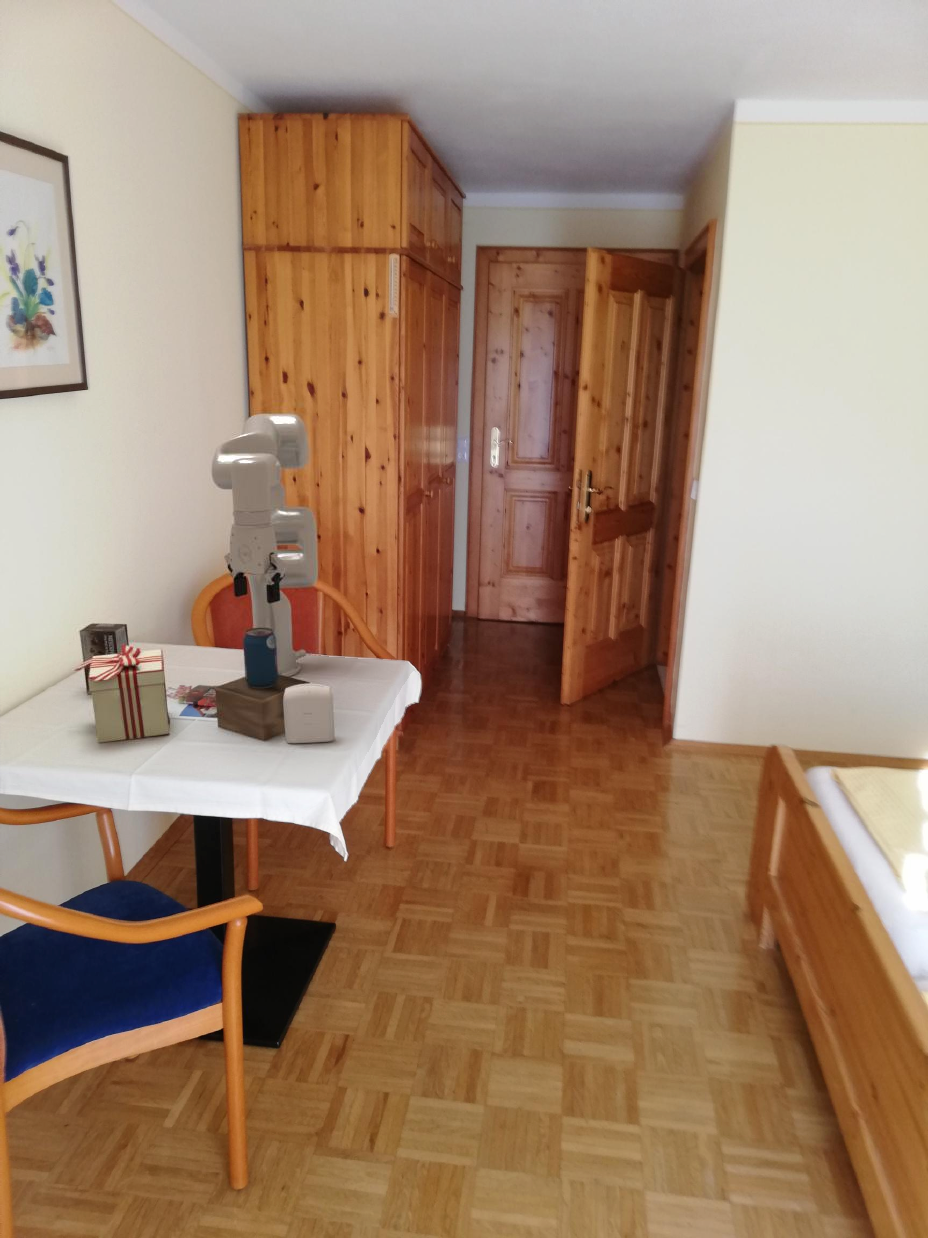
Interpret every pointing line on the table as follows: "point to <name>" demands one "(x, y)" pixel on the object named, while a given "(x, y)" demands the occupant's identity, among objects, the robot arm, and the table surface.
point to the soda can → (260, 658)
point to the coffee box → (102, 642)
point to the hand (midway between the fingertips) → (257, 598)
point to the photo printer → (308, 713)
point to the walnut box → (253, 707)
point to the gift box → (128, 694)
